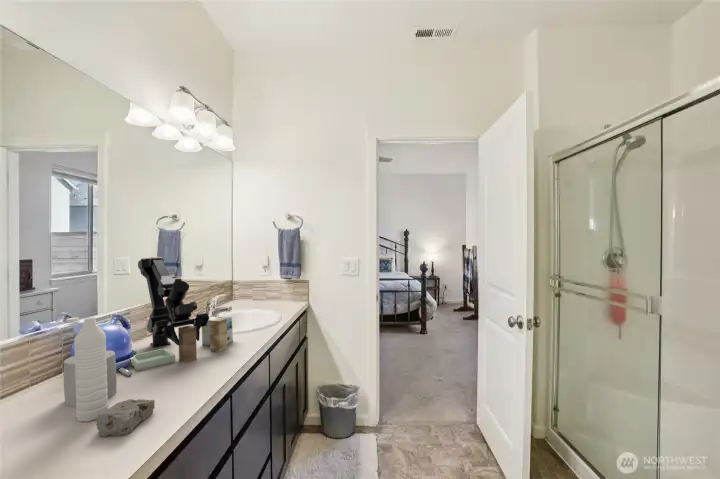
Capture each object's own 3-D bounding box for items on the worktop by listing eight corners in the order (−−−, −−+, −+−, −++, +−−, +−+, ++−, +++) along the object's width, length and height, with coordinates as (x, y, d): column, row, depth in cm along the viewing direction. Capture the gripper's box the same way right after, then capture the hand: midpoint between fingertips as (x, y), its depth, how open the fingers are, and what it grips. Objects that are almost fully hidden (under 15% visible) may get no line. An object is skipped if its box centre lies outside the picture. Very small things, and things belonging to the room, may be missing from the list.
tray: (129, 362, 131) (129, 355, 131) (165, 354, 140) (165, 347, 140) (137, 370, 123) (136, 363, 123) (175, 361, 131) (175, 355, 131)
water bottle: (114, 409, 95) (111, 314, 95) (96, 422, 89) (92, 320, 88) (81, 410, 95) (78, 315, 95) (60, 422, 89) (57, 321, 88)
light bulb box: (233, 340, 156) (232, 316, 156) (226, 345, 149) (225, 319, 149) (209, 340, 157) (209, 316, 157) (201, 345, 150) (200, 319, 150)
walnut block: (179, 360, 133) (178, 327, 133) (191, 356, 136) (190, 324, 136) (183, 362, 130) (183, 329, 129) (196, 359, 133) (195, 326, 133)
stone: (159, 407, 95) (117, 413, 93) (157, 387, 95) (114, 392, 93) (139, 440, 82) (90, 448, 81) (136, 416, 82) (86, 424, 80)
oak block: (210, 350, 143) (209, 320, 143) (218, 347, 147) (217, 317, 147) (219, 351, 142) (219, 321, 142) (227, 348, 146) (226, 318, 146)
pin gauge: (117, 371, 122) (117, 367, 122) (122, 370, 123) (122, 366, 123) (127, 377, 117) (127, 372, 117) (132, 375, 118) (132, 371, 118)
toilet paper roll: (125, 393, 105) (124, 353, 105) (77, 411, 95) (76, 367, 95) (103, 385, 111) (101, 348, 111) (55, 401, 100) (54, 360, 100)
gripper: (154, 299, 128) (166, 335, 121) (206, 292, 142) (220, 324, 135) (148, 317, 134) (159, 353, 126) (198, 309, 147) (211, 341, 140)
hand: (188, 342), depth 132 cm, fingers open, 7 cm apart
